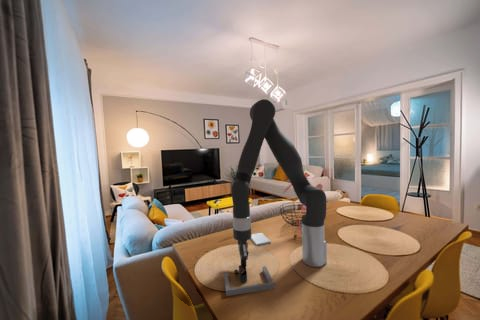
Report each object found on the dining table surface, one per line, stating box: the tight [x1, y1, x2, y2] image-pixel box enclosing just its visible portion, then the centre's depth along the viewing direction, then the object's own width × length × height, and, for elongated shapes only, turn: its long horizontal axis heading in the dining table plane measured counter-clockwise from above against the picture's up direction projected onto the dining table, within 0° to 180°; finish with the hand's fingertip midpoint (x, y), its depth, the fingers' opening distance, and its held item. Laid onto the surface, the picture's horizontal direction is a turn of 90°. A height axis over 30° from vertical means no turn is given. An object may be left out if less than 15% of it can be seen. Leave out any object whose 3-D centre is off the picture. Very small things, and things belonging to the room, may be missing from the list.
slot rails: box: [223, 265, 275, 297], centre depth 77 cm, size 17×11×2 cm, turn 99°
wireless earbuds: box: [233, 264, 248, 283], centre depth 80 cm, size 5×7×3 cm, turn 5°
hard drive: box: [249, 232, 272, 247], centre depth 112 cm, size 2×8×12 cm
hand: (243, 266), depth 85 cm, fingers closed
